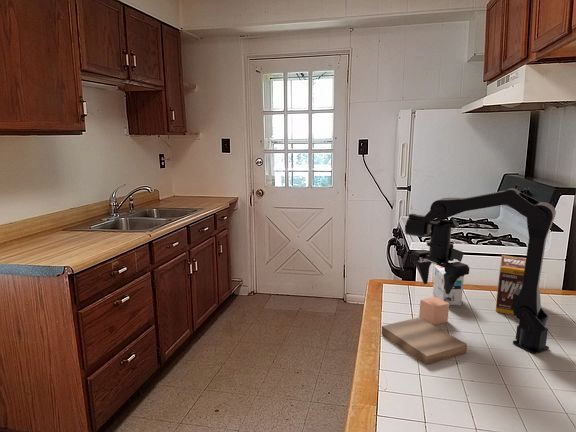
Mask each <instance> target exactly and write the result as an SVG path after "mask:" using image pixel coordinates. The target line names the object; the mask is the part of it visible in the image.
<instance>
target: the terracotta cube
mask: <svg viewBox="0 0 576 432" xmlns="http://www.w3.org/2000/svg"><path fill="white" fill-rule="evenodd" d="M449 312H450V305H449V303H447V302H445V301H443V300H441V299H439V298H437V297H436V296H431V297H428V298H422V299H420V303H419V312H418V313H419V315H418V317H419V318H421V319H423V320H425V321H426V322H428V323H430V324H432V325H434V326H435V325H439V324H443V323H447V322H448V319H449Z"/></svg>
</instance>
